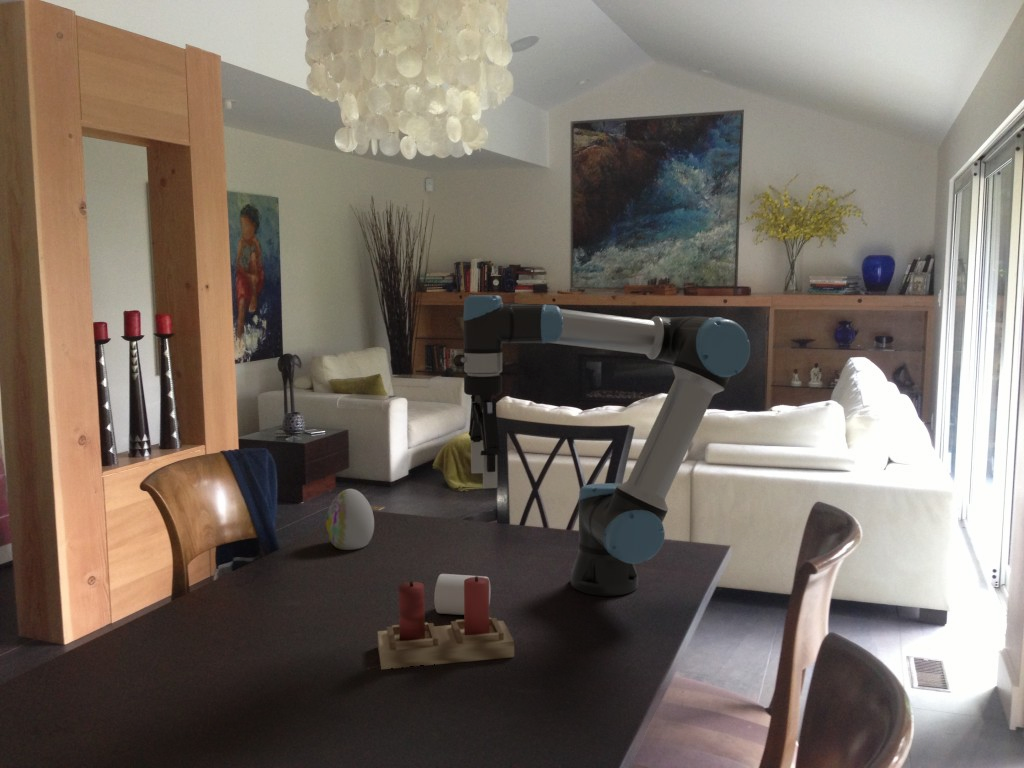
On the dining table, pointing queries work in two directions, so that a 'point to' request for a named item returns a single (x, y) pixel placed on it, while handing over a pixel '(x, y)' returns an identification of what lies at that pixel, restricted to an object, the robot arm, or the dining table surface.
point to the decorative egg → (350, 520)
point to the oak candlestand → (436, 637)
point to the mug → (451, 593)
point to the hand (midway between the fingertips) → (483, 480)
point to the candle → (476, 606)
